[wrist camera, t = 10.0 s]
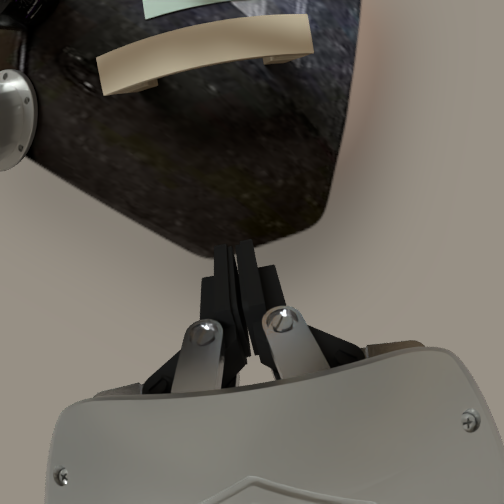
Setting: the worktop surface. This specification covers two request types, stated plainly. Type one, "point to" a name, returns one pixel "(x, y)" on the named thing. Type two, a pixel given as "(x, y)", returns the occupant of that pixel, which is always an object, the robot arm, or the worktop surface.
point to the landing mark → (171, 6)
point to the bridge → (204, 49)
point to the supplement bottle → (25, 13)
